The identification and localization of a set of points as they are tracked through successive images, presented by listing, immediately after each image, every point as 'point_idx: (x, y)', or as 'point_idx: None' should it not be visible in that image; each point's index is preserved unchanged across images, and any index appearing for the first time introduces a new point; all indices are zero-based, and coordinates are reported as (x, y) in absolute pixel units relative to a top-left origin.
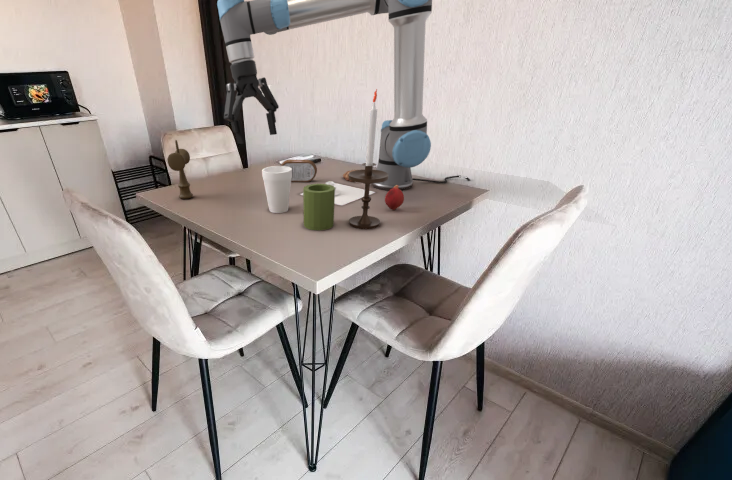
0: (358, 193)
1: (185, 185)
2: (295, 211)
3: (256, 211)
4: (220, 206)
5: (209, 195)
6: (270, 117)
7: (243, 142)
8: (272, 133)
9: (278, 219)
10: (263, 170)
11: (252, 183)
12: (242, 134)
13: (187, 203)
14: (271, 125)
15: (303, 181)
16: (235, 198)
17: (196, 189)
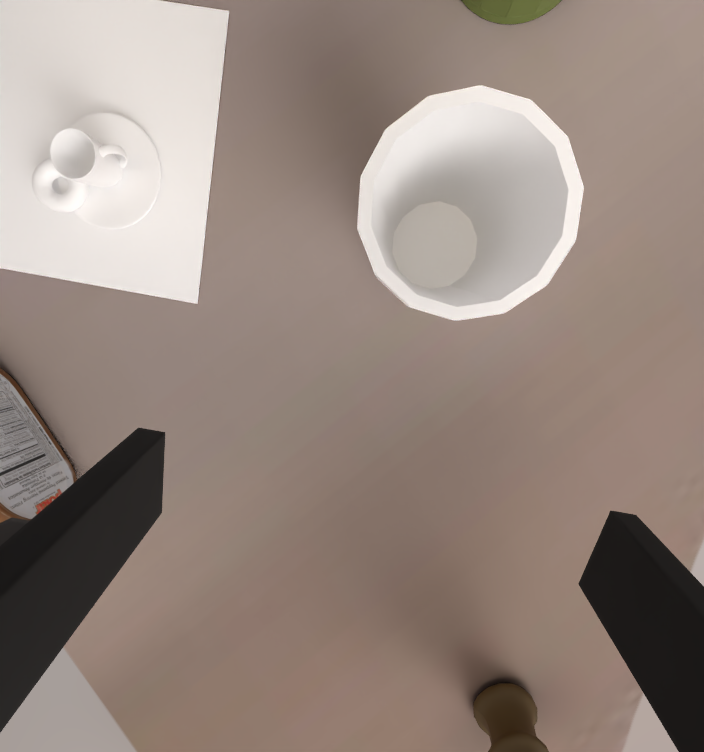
0: (23, 42)
1: (534, 744)
2: None
3: (500, 323)
4: (522, 504)
5: (426, 643)
6: (30, 606)
7: (630, 516)
8: (158, 478)
9: None
10: (538, 278)
11: (185, 595)
12: (673, 576)
13: (558, 649)
14: (108, 528)
15: (29, 401)
16: (401, 520)
17: (388, 744)
